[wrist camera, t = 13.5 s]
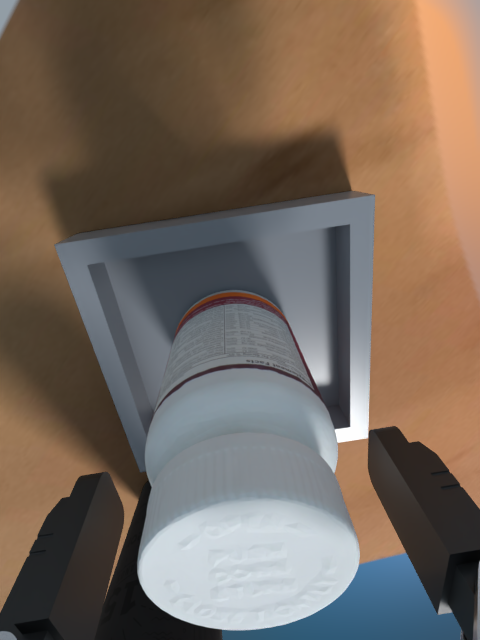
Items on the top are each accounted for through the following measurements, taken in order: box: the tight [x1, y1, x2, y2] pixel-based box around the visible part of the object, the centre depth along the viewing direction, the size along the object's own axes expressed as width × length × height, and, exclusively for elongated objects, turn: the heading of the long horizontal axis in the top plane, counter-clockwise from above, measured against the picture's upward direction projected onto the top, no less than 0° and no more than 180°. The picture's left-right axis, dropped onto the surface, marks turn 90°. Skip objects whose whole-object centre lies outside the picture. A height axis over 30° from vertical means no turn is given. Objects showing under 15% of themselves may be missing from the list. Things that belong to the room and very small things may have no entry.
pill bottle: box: [137, 290, 360, 630], centre depth 13 cm, size 6×6×11 cm
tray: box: [55, 191, 375, 472], centre depth 17 cm, size 13×13×2 cm
